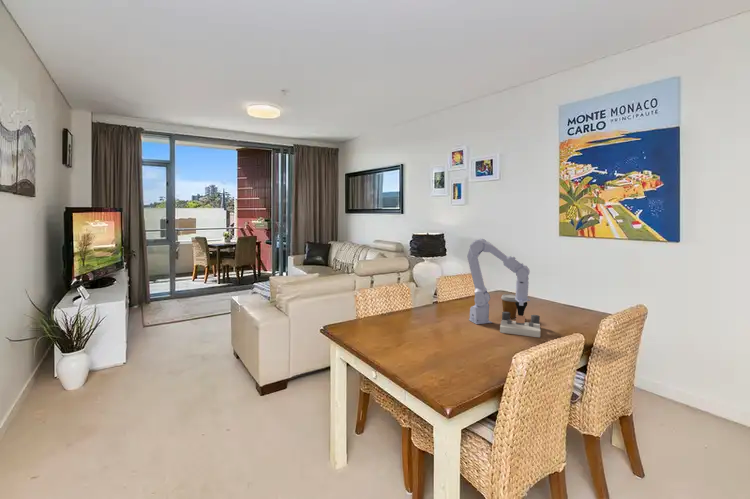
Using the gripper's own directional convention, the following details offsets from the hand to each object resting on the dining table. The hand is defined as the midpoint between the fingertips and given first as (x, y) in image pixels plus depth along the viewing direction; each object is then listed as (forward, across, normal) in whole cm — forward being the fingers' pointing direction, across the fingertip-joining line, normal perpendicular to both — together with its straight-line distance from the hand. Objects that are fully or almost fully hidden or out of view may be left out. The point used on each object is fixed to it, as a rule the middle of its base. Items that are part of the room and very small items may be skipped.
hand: (520, 316), depth 187 cm
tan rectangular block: (+2, -5, 0) cm, 5 cm away
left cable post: (+6, +4, +7) cm, 10 cm away
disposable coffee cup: (+6, +18, +6) cm, 20 cm away
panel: (+6, -5, 0) cm, 8 cm away
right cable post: (+6, +4, -7) cm, 10 cm away
